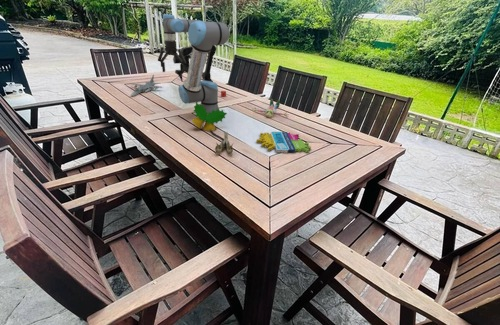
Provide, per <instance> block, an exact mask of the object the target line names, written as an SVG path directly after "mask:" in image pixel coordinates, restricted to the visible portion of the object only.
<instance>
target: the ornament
mask: <svg viewBox="0 0 500 325" xmlns="http://www.w3.org/2000/svg"><path fill="white" fill-rule="evenodd" d="M219 110H220V108H219V109H217V110H216V111H214V110H212V112H211V113H208V112H206V109H204V106H201V103H199V102H195V105H194V106H193V112H194V113H195V118H192V119H191V122H192V123H193V125H195V127H197V128H198V129H202V130H203V131H206V132H211V131H212V132H214V131H215V130H216V126H215V124H218V123H219V122H223V119H226V115H227V114H228V113H227V112H224V110H223V109H221V110H220V111H219ZM207 113H208V115H207ZM214 123H215V124H214ZM210 130H211V131H210Z"/></svg>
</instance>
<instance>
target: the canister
mask: <svg viewBox="0 0 500 325" xmlns="http://www.w3.org/2000/svg"><path fill="white" fill-rule="evenodd" d="M220 97H221V98H226V97H227V91H226V90H220Z"/></svg>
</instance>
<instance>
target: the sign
mask: <svg viewBox="0 0 500 325" xmlns="http://www.w3.org/2000/svg"><path fill="white" fill-rule="evenodd" d="M299 136H300V135H299V134H298V133H296V134H294V133H291V132H287V131H270V132H264V133H263V132H260V133H259V139H258V138H257V139H256V143H257V144H261V148H263V147H264V148H265V149H267V151H268V152H271V151H272V150H273V149H275V152H276V153H283V154H285V153H287V154H288V153H290V154H293V153H296V152H298V153H301V152H305V153H310V151H311V150H312V149H311V148H312V146H309V142H304V141H303V139H302V138H299Z"/></svg>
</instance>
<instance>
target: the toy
mask: <svg viewBox="0 0 500 325" xmlns="http://www.w3.org/2000/svg"><path fill="white" fill-rule="evenodd" d="M280 101H281V100H280V98H278V99H277V100H276V102H275V104H274V100H273V98H270V101H269V106H268V107H267V108H266V110H265V109H257V108H256V107H254V108H252V109H251V110H252V112H253V113H256V112H258V113H265V114H263V116H264V117H266V118H273V117H274V115H278V116H284V117H289V116H290V115H289V113H288V112H285V113H282V112H278V111H276V109H278V108H279V107H280V104H281V102H280Z"/></svg>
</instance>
